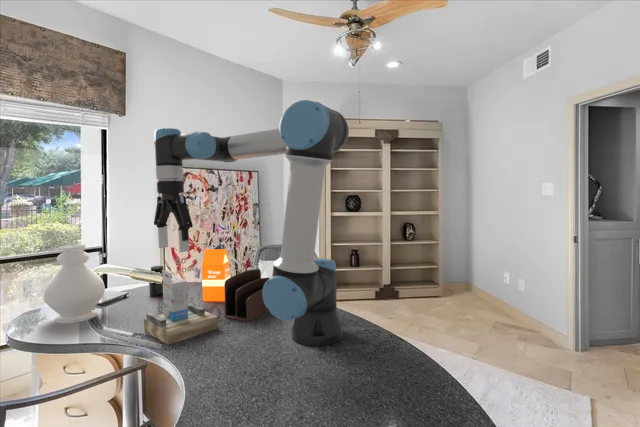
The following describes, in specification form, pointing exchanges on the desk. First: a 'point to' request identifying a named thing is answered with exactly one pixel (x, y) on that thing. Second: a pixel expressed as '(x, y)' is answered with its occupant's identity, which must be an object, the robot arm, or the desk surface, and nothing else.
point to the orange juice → (214, 274)
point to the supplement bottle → (154, 288)
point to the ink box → (174, 297)
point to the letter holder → (245, 296)
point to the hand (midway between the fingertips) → (173, 249)
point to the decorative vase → (74, 287)
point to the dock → (180, 325)
